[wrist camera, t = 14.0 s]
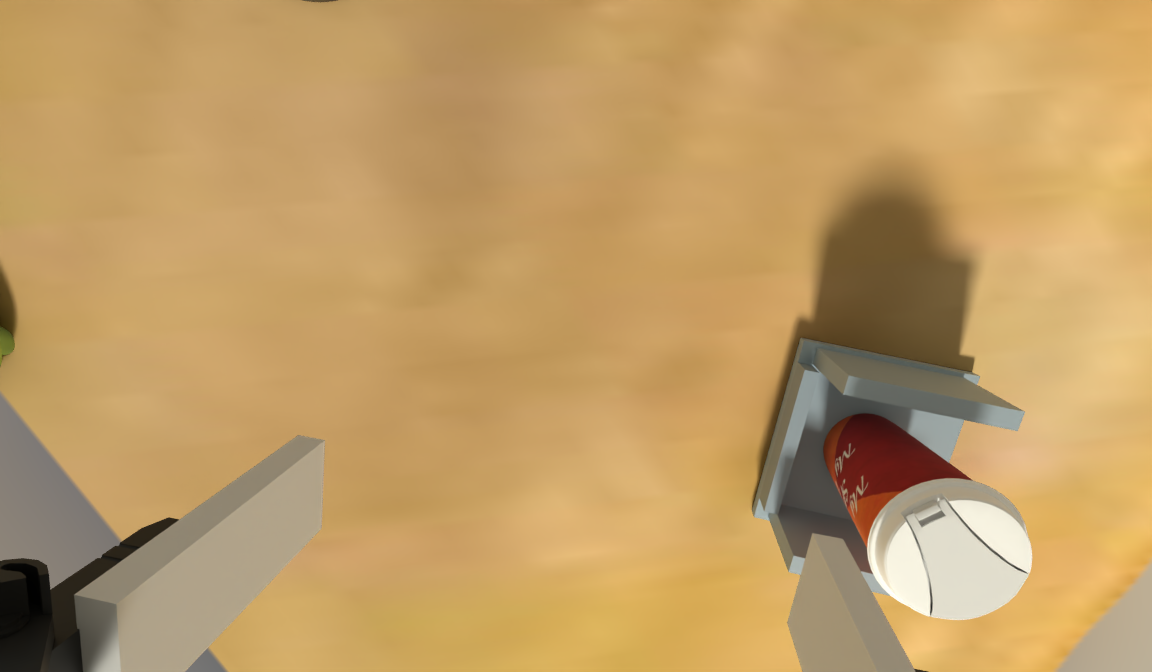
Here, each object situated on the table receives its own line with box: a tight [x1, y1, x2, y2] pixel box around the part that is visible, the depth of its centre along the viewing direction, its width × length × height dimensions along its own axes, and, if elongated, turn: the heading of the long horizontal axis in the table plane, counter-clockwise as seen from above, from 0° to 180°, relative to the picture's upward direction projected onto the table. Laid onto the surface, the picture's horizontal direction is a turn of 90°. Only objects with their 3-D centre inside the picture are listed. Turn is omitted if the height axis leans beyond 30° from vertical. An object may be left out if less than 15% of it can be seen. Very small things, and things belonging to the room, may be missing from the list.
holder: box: [752, 338, 1025, 596], centre depth 40 cm, size 14×12×8 cm
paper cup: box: [823, 413, 1032, 620], centre depth 36 cm, size 8×8×14 cm
